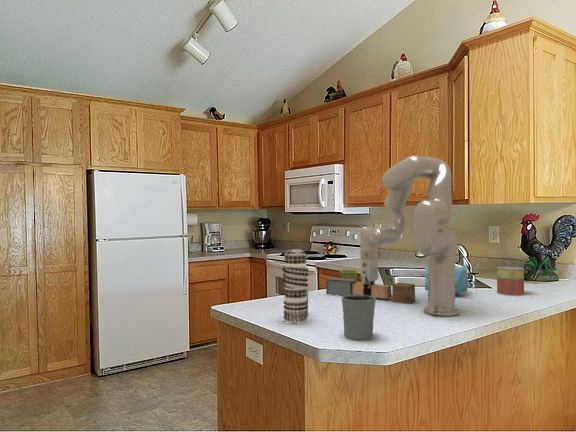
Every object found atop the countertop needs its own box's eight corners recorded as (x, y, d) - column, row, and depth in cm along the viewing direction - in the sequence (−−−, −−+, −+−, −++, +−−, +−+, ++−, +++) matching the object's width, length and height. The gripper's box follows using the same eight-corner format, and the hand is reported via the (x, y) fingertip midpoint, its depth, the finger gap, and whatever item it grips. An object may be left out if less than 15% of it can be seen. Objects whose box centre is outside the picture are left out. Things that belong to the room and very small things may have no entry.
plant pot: (362, 287, 213) (362, 270, 213) (351, 290, 206) (351, 272, 206) (346, 285, 219) (346, 269, 219) (336, 288, 212) (335, 271, 212)
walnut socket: (410, 304, 174) (410, 286, 174) (392, 302, 178) (392, 285, 178) (415, 301, 180) (415, 284, 180) (397, 299, 184) (397, 282, 184)
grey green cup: (336, 337, 127) (336, 298, 127) (349, 329, 136) (349, 292, 136) (368, 343, 122) (368, 301, 122) (380, 334, 130) (380, 295, 130)
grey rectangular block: (350, 297, 189) (350, 281, 189) (326, 294, 195) (326, 279, 195) (356, 294, 195) (356, 279, 194) (333, 292, 201) (333, 277, 201)
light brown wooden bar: (388, 298, 181) (388, 286, 181) (333, 292, 195) (333, 281, 195) (391, 297, 184) (391, 285, 184) (337, 291, 198) (337, 280, 198)
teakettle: (424, 297, 188) (424, 264, 188) (426, 290, 206) (426, 260, 206) (470, 300, 182) (470, 266, 181) (468, 292, 199) (468, 261, 199)
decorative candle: (279, 323, 144) (278, 250, 144) (286, 317, 153) (286, 248, 153) (305, 325, 142) (304, 251, 141) (311, 318, 150) (310, 248, 150)
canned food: (505, 290, 204) (505, 265, 204) (529, 294, 194) (529, 268, 194) (492, 293, 198) (491, 267, 197) (516, 296, 188) (516, 270, 188)
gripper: (369, 257, 178) (369, 300, 178) (383, 254, 192) (383, 294, 192) (353, 256, 182) (353, 298, 182) (368, 253, 196) (368, 292, 197)
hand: (369, 295), depth 187 cm, fingers closed on light brown wooden bar, 4 cm apart
